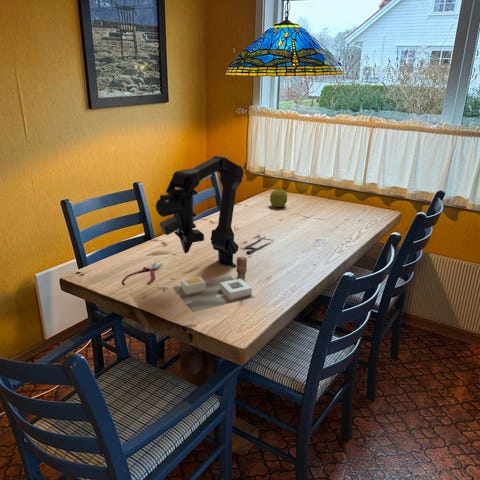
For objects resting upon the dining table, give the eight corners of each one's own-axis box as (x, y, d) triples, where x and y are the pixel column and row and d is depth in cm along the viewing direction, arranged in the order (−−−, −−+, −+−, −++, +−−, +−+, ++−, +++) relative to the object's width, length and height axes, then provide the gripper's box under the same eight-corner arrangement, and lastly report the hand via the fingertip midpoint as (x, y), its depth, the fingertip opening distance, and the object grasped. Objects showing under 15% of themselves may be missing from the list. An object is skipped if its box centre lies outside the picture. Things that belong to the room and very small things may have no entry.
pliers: (172, 267, 171) (172, 261, 170) (150, 290, 153) (149, 284, 152) (145, 264, 174) (145, 258, 173) (120, 286, 156) (119, 279, 155)
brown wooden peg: (234, 280, 161) (234, 257, 158) (243, 278, 162) (243, 255, 159) (239, 284, 158) (239, 261, 155) (247, 282, 160) (248, 259, 156)
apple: (278, 203, 255) (279, 185, 251) (290, 207, 248) (291, 188, 245) (265, 206, 249) (266, 187, 245) (277, 210, 242) (278, 191, 238)
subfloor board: (172, 291, 152) (172, 287, 151) (230, 279, 161) (230, 275, 161) (192, 316, 137) (192, 311, 136) (254, 301, 147) (254, 297, 146)
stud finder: (181, 288, 151) (180, 279, 150) (200, 284, 154) (200, 275, 153) (186, 294, 147) (186, 285, 146) (205, 290, 150) (205, 281, 149)
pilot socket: (219, 289, 151) (219, 282, 150) (240, 284, 154) (240, 278, 153) (230, 299, 144) (230, 292, 143) (251, 294, 148) (251, 287, 147)
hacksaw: (249, 255, 183) (249, 252, 183) (229, 250, 189) (229, 246, 188) (279, 239, 202) (279, 236, 201) (260, 234, 207) (260, 231, 207)
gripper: (152, 204, 150) (154, 247, 156) (171, 220, 135) (173, 267, 141) (183, 201, 155) (184, 242, 161) (204, 216, 140) (205, 261, 146)
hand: (185, 252), depth 152 cm, fingers closed
